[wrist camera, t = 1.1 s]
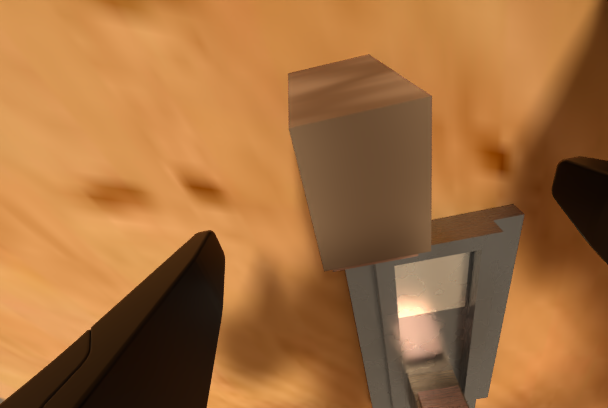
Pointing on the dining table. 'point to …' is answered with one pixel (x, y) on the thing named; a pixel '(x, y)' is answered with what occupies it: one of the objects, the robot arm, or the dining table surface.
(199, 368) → the robot arm
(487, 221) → the rail
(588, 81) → the dining table surface
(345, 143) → the tan wooden block
